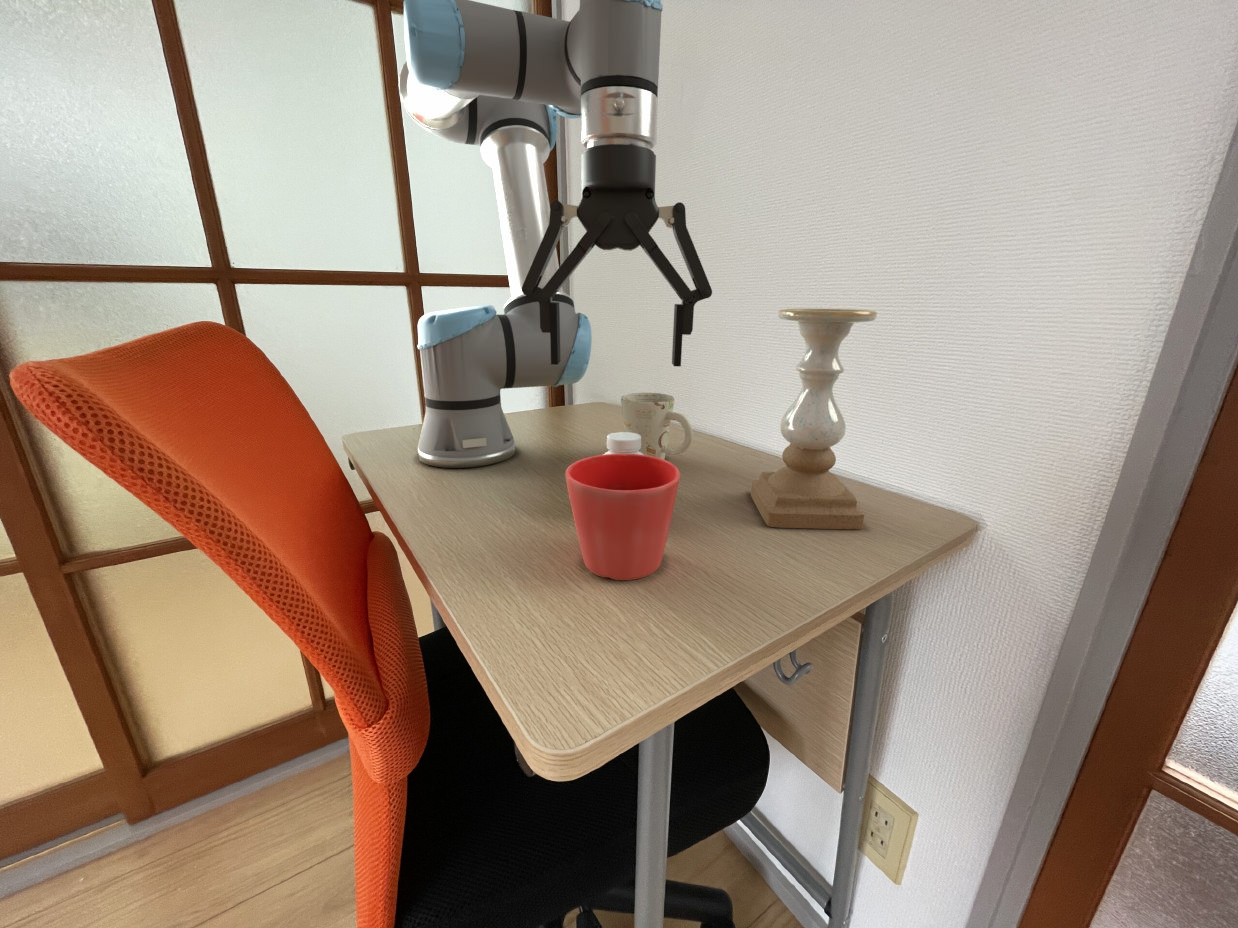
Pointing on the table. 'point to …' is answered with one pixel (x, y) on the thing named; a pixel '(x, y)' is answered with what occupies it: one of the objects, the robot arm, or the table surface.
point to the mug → (653, 422)
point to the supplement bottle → (623, 443)
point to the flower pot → (622, 512)
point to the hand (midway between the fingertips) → (616, 364)
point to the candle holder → (812, 433)
